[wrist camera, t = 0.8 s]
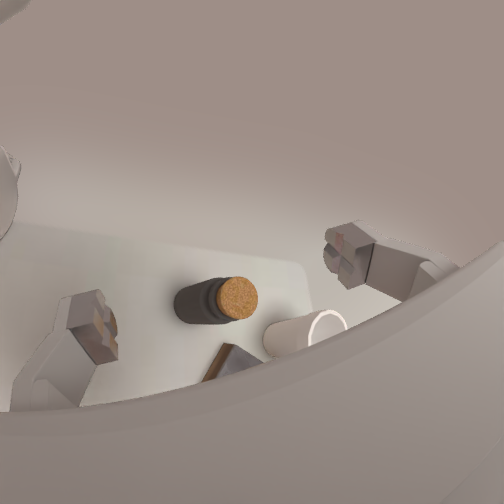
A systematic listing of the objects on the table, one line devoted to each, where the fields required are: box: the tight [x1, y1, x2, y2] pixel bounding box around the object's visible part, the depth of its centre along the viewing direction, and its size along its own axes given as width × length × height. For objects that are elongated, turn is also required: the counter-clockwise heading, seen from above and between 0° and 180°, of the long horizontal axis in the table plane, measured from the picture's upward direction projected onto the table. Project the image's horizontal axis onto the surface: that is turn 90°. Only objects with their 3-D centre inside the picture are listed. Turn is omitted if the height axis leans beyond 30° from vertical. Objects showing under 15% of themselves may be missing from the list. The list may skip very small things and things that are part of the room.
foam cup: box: [263, 310, 348, 358], centre depth 44 cm, size 10×9×13 cm
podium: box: [201, 343, 263, 383], centre depth 41 cm, size 12×12×4 cm
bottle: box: [174, 277, 258, 324], centre depth 36 cm, size 6×6×15 cm
